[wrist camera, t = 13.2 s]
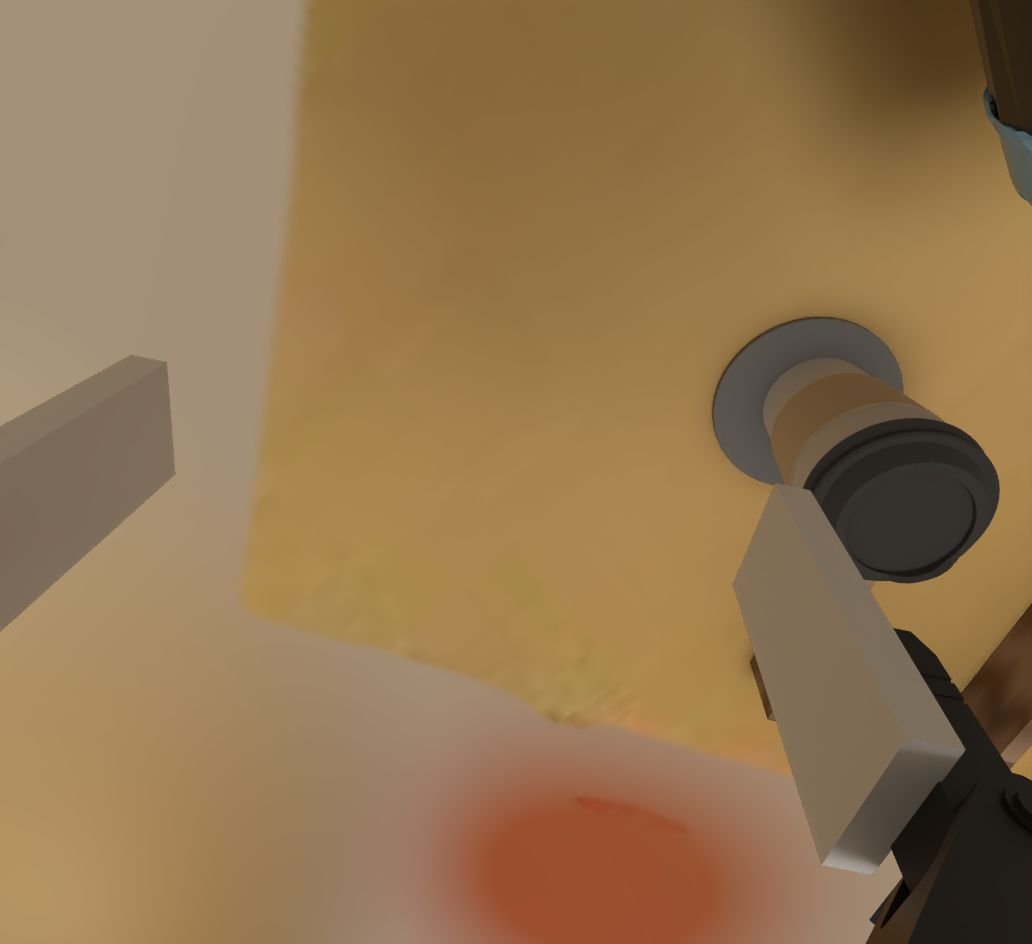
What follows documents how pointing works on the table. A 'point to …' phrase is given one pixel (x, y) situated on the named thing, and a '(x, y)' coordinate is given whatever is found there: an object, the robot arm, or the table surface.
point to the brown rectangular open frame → (989, 692)
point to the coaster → (766, 363)
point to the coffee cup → (880, 469)
